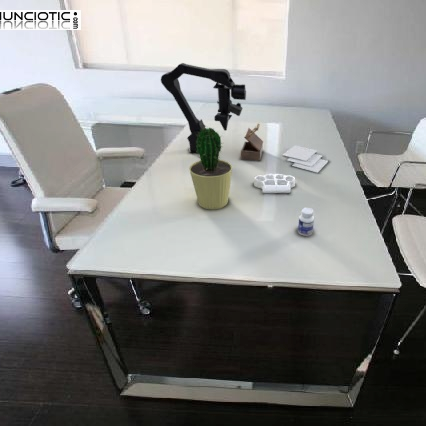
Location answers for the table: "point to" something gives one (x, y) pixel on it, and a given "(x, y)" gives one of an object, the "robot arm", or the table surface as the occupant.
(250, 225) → the table surface
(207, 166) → the potted cactus
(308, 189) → the table surface
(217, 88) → the robot arm
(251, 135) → the lid
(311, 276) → the table surface
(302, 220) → the pill bottle
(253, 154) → the box
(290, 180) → the white brass knuckles
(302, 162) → the paper stack
